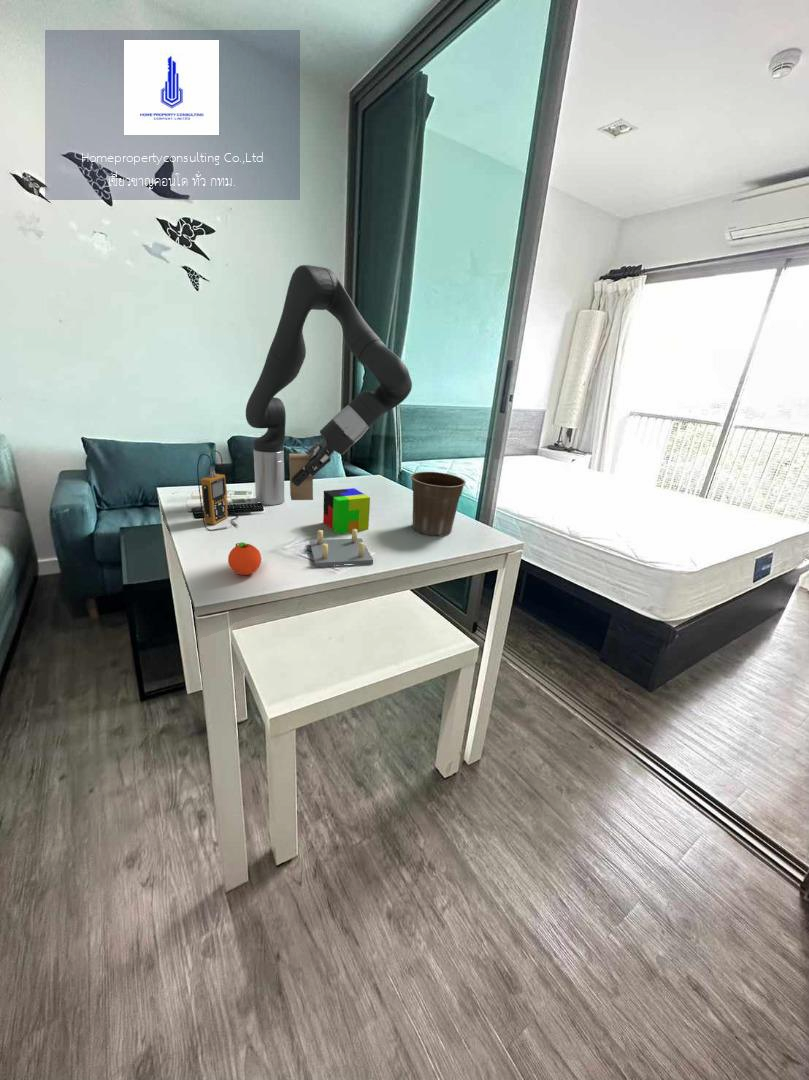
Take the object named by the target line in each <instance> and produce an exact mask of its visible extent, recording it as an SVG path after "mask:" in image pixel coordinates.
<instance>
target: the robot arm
mask: <svg viewBox="0 0 809 1080" xmlns="http://www.w3.org/2000/svg"><path fill="white" fill-rule="evenodd" d="M290 277H291V278H290V281H289V283H288V287H287V291H286V294H285V295H286V296H285V301H284V304H283V307H282V313H281V316H280V319H279V322H278V325H277V328H276V331H275V335H274V337H273V339H272V342H271V344H270V346H269V349H268V352H267V356H266V359H265V361H264V364H263V368H262V370H261V373H260V376H259V378H258V380H257V383H256V384H255V386H254V388H253V390H252V392H251V394H250V396H249V398H248V400H247V404H246V407H245V419H246V423H247V424H248V425H249V426H250V427H251V428H255V429H267V430H266V432H265V433H264V434H263V435H261V436H260V437H257V438H255V439H254V440H253V444H252V446H253V467H254V488H255V489H254V490H255V502H256V501H257V502H260V503H262V504H261V505H265V506H266V505H267V506H270V505H271V506H274V505H280V504H283V503H284V502H285V457H284V456H285V454H284V452H285V451H284V445H285V441H286V424H287V423H286V420H287V419H286V417H287V415H286V407H285V404H284V402H283V401H282V399H280V398H279V397H276V395H277V394H278V393H279V392H281V391H282V390H283V389H284V388H286V387H287V386H288V385H289V384H291V383H292V382H293V381H294V380H295V379H296V378H297V376H299V373H300V371H301V369H302V366H303V365H304V361H305V359H306V353H307V351H306V350H307V347H306V343H305V339H304V334H303V333H304V332H303V329H304V326H305V323H306V319H307V317H308V315H309V314H310V312H311V310H312V311H313V310H314V311H327V312H328V313H330V314H331V315H332V316H334V317H335V319H337V321H338V323H340V326H341V328H342V329H341V330H342V334H343V339H344V342H345V344H346V346H347V347H348V349H349V351H350V352H351V354H352V355H354V357H355V358H356V359H357V360H358V362H359V363H360V364H361V365H362V367H363V368H365V369H366V370H368V371H369V372H371V374H372V375H373V376H374V377H375V378H376V380H377V381H378V384H379V386H377V387H376V388H374V389H373V390H371V391H370V390H363V391H361V392H360V393H359V394H358V395H356V397H355V398H353V400H351V401H350V403H348V405H346V406H345V407H343V409H341V410H340V411H338V412H337V414H336V415H334V417H332V418H331V420H329V422H328V423H326V424H325V425H324V426H323V427H322V428H321V430H319V434H320V435H321V436H322V438H323V439H324V440H322V441H321V442H320V443H319V441H316V442H315V443H314V445H312V447H311V448H309V450H308V451H307V452H306V453H305V454H309V455H310V454H311V455H310V456H309V457H308V462H307V463H306V464H305V465H304V466H303V467H302V469H303V470H302V469H301V470H300V471H299V472H298V473H297V474H296V475H295V476H294V477H292V478H291V481H292V483H294V484H295V485H296V486H299V485H300V484H301V483H302V482H303V481H304V480H305V479H306V478H307V477H308V476H311V475H312V476H313V477H314V476H315V475H316V474H317V473H318V472H319V471H321V470H322V469H323V468H324V467H325V466H326V465H327V464H329V463H330V462H331V460H332V459H331V458H332V455H333V453H334V452H335V451H336V452H337V453H338V454H339V455H341V456H343V455H344V454H346V453H347V451H348V450H349V449H350V448H351V447H353V446H354V444H356V442H357V441H359V440H360V439H361V438H362V437H363V436H364V434H365V433H366V432H367V430H368V429H370V428H371V427H372V426H373V425H374V424H375V423H376V421H378V420H379V419H380V417H382V416H383V415H384V414H386V413H387V412H389V411H391V410H393V409H394V408H395V407H397V406H398V405H400V404H402V403H403V402H404V401H405V399H407V397H409V395H410V393H411V391H412V388H413V381H412V379H411V375H410V373H409V369H408V368H407V366H406V364H405V363H404V361H402V359H401V358H400V357H399V356H398V355H397V354H396V353H395V352H393V351H392V350H391V349H390V348H388V347H387V346H386V344H385V343H384V342H383V340H382V339H381V338H380V337H379V336H378V334H376V332H375V331H374V330H373V329H372V328H371V326H369V324H368V323H367V322H366V320H365V319H364V318H363V315H361V313H360V312H359V310H358V308H357V307H356V304H354V301H353V300H352V298H351V296H350V295H349V294H348V292H347V290H346V288H345V287H344V285H343V283H342V281H340V279H339V277H338V276H337V274H336V273H335V272H334V271H332V270H331V269H329V268H327V267H323V266H316V265H310V264H302V265H299V266H297V267H296V268H295V269H294V271H293V272H292V275H291V276H290ZM312 465H313V469H312V468H311V466H312ZM257 502H256V503H257Z"/></svg>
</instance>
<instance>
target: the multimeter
mask: <svg viewBox="0 0 809 1080" xmlns="http://www.w3.org/2000/svg"><path fill="white" fill-rule="evenodd" d="M210 452H211V453H210V455H211V456H209V455H208V454H206V453H202V454H200V455H199V456H198V458H197V459H198V460H197V466H196V467H197V469H196V473H197V483H198V484H197V485H198V493H199V502H200V509H201V517H202V522H203V525H204V528H205V529H206V530H208V531H219V530H220V531H221V530H223V529H224V530H225V529H228V528H231V527H233V525H235V526H236V527H238V528H240V526H239V525H238V523H236V522H235V521H234V520H236V519H237V518H239V515H238V514H235V513H233V515H234V516H236V517H234V518H231V520H230V521H231V522H232V523H233V525H229V526H222V527H217V528H215V529H214V528H213V529H209V528H207V527H206V524H207V525H212V526H213V525H214V526H216V525H217V524H218V523H220V522H222V521H223V520H226V519H227V518H228V516H229V515H228V513H229V512H228V510H229V508H228V496H227V495H228V492H227V491H228V490H227V484H226V475H225V474H224V470H223V469H224V468H223V467H224V466H223V465H221V473H222V474H219V473H216V471H215V463H214V456H213V452H217V453H218V454H219V456H220V460H221V461H220V462H221V464H223V458H222V454H221V453H220V451H218V450H211V451H210ZM202 456H207V457H208V459H209V464H210V475H208V476H207V477H202V478H201V479H200V478H199V477H200V475H199V463H200V460H201V457H202ZM200 484H201V487H200ZM201 496H202V497H201ZM227 509H228V510H227Z"/></svg>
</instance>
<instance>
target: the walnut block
mask: <svg viewBox="0 0 809 1080" xmlns="http://www.w3.org/2000/svg"><path fill="white" fill-rule="evenodd" d="M288 455H289V456H288V459H289V463H288V464H289V466H288V467H289V468H288V469H289V490H290V491H289V493H290V494H289V496H290V500H291V501H313V500H314V487H313V486H314V475H313V476H312V475H311V476H308V477H307V478H306V479H305V480H304V481H303V482H302V483H301V484H300V485H299V486H296V485H295V484H294V483H292V481H291V478H292V477H294V476H295V475H296V474H297V473H298V472H299V471H300V470H301V469H302V467H303V466H304V465H305V464H306V463H307V462H308V457H309V456H310V455H311V454H310V455H309V454H306V453H288ZM311 468H312V469H313V465H312V466H311ZM302 470H303V469H302Z"/></svg>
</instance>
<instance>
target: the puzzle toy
mask: <svg viewBox="0 0 809 1080" xmlns="http://www.w3.org/2000/svg"><path fill="white" fill-rule="evenodd" d="M370 505H371V497H370V496H369V495H367V494H365V493H363V492H361V491H360V490H358V489H356V488H355V487H354V488H344V489H343V488H342V489H332V490H324V491H323V512H322V513H323V520H322V522H323V524H324V525H326V526H327V527H328V529H329V528H330V529H331V530H332V531H333V532H335V534H337V535H338V534H339V535H340V534H346V533H352V529H357V532H361V531H367V530H369V525H370V524H369V522H370V510H371V509H370Z"/></svg>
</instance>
